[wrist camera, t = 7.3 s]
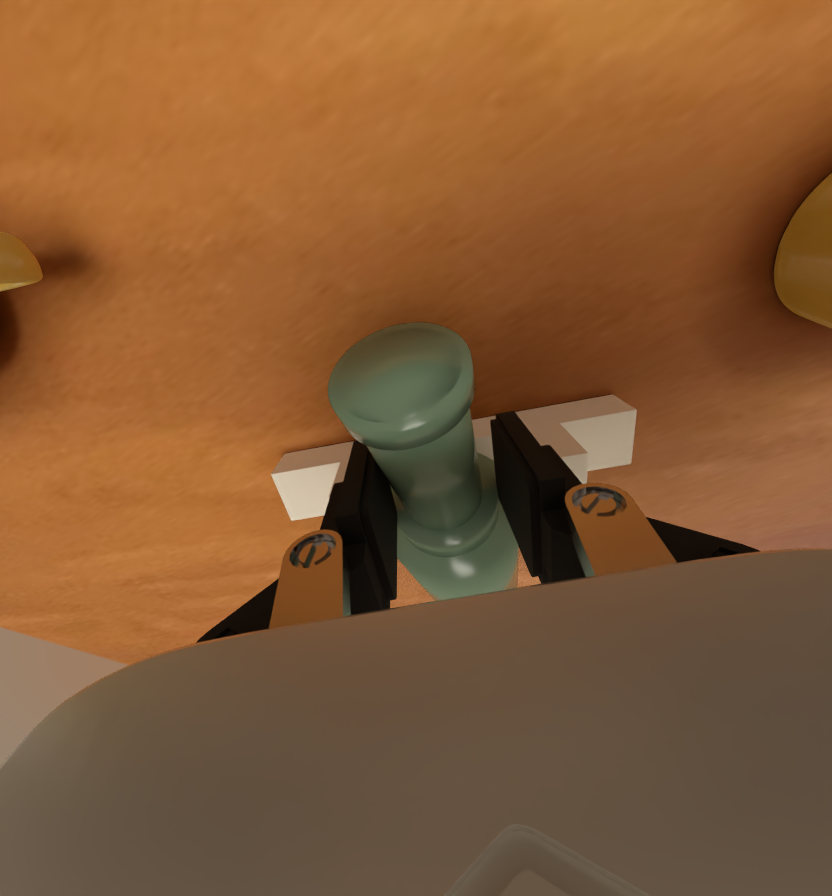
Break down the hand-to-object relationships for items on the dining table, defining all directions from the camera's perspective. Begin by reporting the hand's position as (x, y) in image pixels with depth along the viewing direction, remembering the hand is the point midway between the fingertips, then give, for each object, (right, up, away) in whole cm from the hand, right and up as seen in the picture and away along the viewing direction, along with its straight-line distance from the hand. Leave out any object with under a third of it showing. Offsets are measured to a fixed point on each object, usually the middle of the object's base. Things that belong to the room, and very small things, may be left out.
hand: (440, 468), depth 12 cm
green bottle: (+3, -7, +10) cm, 12 cm away
